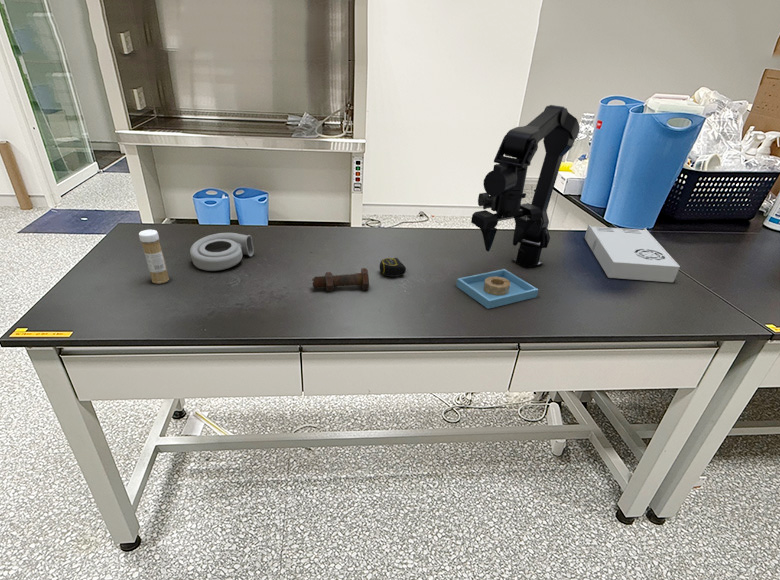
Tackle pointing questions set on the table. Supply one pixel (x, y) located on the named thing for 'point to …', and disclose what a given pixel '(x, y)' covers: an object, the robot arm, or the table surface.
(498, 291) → the wooden ring
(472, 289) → the tray
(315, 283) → the bolt
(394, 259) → the tape measure
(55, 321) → the table surface
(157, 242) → the sprinkles bottle
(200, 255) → the turbocharger housing
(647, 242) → the power supply unit
